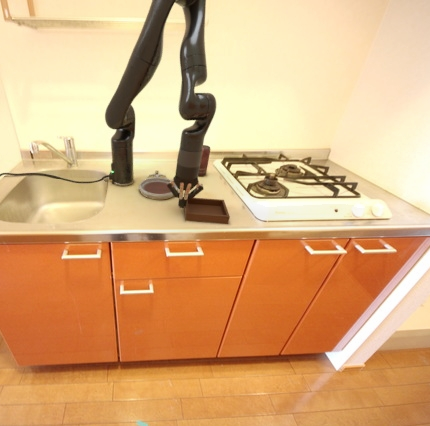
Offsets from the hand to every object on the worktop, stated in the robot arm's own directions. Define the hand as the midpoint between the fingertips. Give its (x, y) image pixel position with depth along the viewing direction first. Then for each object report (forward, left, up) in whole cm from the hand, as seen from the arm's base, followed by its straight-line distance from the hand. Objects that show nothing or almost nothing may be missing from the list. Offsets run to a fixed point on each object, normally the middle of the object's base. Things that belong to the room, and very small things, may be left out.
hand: (181, 206), depth 83 cm
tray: (+9, 0, -2) cm, 9 cm away
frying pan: (-10, +21, -2) cm, 23 cm away
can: (+10, +36, -2) cm, 37 cm away
